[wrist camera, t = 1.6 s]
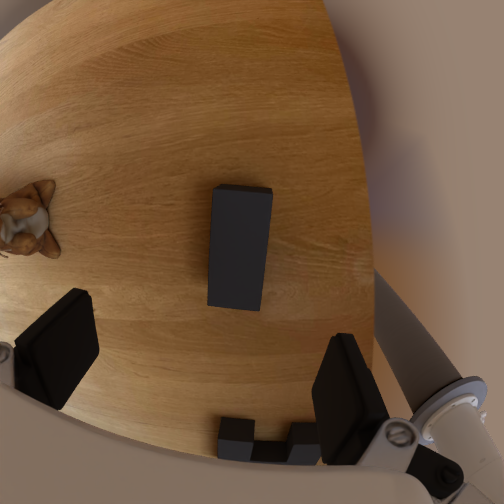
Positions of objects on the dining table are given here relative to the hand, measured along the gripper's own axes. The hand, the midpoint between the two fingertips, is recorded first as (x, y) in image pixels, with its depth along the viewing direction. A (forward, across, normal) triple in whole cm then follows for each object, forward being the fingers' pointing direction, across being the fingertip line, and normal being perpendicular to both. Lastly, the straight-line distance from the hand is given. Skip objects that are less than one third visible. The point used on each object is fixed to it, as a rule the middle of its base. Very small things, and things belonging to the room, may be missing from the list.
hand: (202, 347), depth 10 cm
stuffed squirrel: (+20, +29, +2) cm, 35 cm away
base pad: (+20, -9, +36) cm, 42 cm away
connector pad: (+20, 0, +2) cm, 20 cm away
